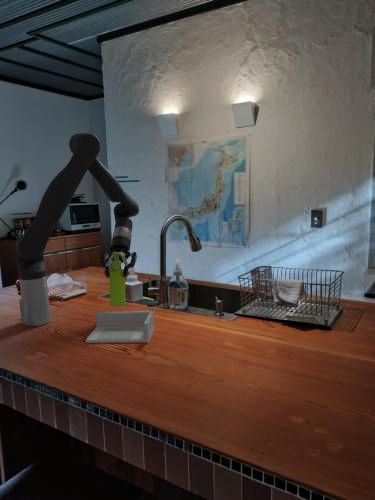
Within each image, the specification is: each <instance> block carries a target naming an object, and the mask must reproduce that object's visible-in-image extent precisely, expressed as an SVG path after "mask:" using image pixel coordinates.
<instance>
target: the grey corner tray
mask: <svg viewBox="0 0 375 500" xmlns="http://www.w3.org/2000/svg"><path fill="white" fill-rule="evenodd" d="M154 313H155V312H154V311H153V310H147V311H146V310H143V311H140V310H138V311H135V310H133V311H96V312H95V326H96V327H95V328H94V329H93V331H91V333H90V334H89V335H88V336H87V338H86V339H85V344H95V343H96V344H109V343H110V344H112V343H113V344H114V343H116V344H117V343H124V344H125V343H149V342H150V340H151V337H152V335H153V333H154V329H155V318H154V317H155V315H154Z"/></svg>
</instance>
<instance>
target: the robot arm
mask: <svg viewBox="0 0 375 500" xmlns="http://www.w3.org/2000/svg"><path fill="white" fill-rule="evenodd" d="M68 146H69V150H70V152H71V154H72V156H71V158H70V159H69V161H68V163H67V164H66V166H65V167H63V169H62V170H61V171H59V173H57V175H55V176H54V178H52V180H51V181H50V182H49V185H48V186H47V188H46V189H45V192H44V194H43V196H42V198H41V201H40V202H39V205H38V208H37V211H36V214H35V217H34V219H33V220H32V222H31V224H30V226H29V227H28V229H27V230H26V232H25V233H24V234H21V235H19V237H18V238H17V240H16V243H15V253H16V260H17V261H16V263H17V269H18V270H17V271H18V278H19V286H20V296H21V298H20V299H19V301H18V302H19V312H20V320H21V321H20V322H21V325H22V326H26V327H38V326H43V325H46V324H48V323H50V322H51V312H50V311H51V310H50V300H49V289H48V280H47V279H48V276H47V269H46V264H45V254H44V253H45V251H46V250H45V249H46V247H47V244H48V242H49V240H50V237H51V235H52V233H53V230H54V229H55V228H56V226H57V224H58V223H59V221H60V219H61V218H62V216H63V215H64V213H65V211H66V210H67V208H68V207H69V205H70V204H71V201H72V199H73V198H74V196H75V193H76V191H78V188H79V186H80V184H81V182H82V180H83V178H84V177H85V175H86V173H87V171H88V172H89V174H90V175H91V176H92V178H94V180H95V181H96V182H97V183H98V185H99V187H100V188H101V189H102V192H103V193H104V194H105V196H106V197H107V199H108V200H109V201H110V202H111V203H117V204H116V205H115V206H114V207H113V215H114V222H115V224H114V227H113V228H114V230H113V233H112V237H111V242H110V249H109V251H108V252H107V253H105V252H104V251H103V252H101V253H100V264H101V265H100V266H101V267H102V269H104V275H105V277H106V279H107V278H108V279H109V270H111V269H112V261H113V260H114V254H112V253H114V252H121V253H124V254H126V255H124V256H120V255H119V260H120V261H121V264H123V265H124V267H123V270H124V272H123V276H124V278H125V279H126V278H127V277H128V276H129V270H130V269H134V268H135V265H136V262H137V258H138V254H137V252H136V251H133V252H131V246H132V244H131V243H132V232H133V221H132V219H131V218H133V217H136V216H137V215H138V214H139V212H140V207H139V204H138V203H137V200H135V199H134V198H133V197H132V196H131V195H129V193H127V192H126V191H125V190H124V189H123V186H122V185H121V184H120V182H119V181H118V179H117V178H116V176H115V175H113V173H112V172H111V171H110V170H109V169H107V167H106V166H105V165H104V164H103V162H101V160H100V159H99V158H98V155H99V154H100V150H101V142H100V139H99V138H98V136H97V135H95V134H93V133H88V132H87V133H84V132H79V133H78V132H77V133H75V134H73V135H72V136H71V137H70V139H69V141H68ZM108 257H109V258H108ZM129 258H131V259H130V261H129V263H128V259H129ZM107 259H108V260H107ZM106 261H107V262H106Z"/></svg>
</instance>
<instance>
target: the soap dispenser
mask: <svg viewBox="0 0 375 500" xmlns="http://www.w3.org/2000/svg"><path fill="white" fill-rule="evenodd" d="M112 254H114V260H113V261H112V267H111V269H110V270H109V278H108V279H109V280H108V282H109V283H108V286H109V287H108V288H109V305H110V306H112V307H123V306H125V305H127V304H126V303H127V301H126V298H127V297H126V277H125V278H124V276H123V272H124V268H123V269H122V263H121V261H120V260H119V255H120V256H124V255H126V254H124V253H121V252H114V253H112Z"/></svg>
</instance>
